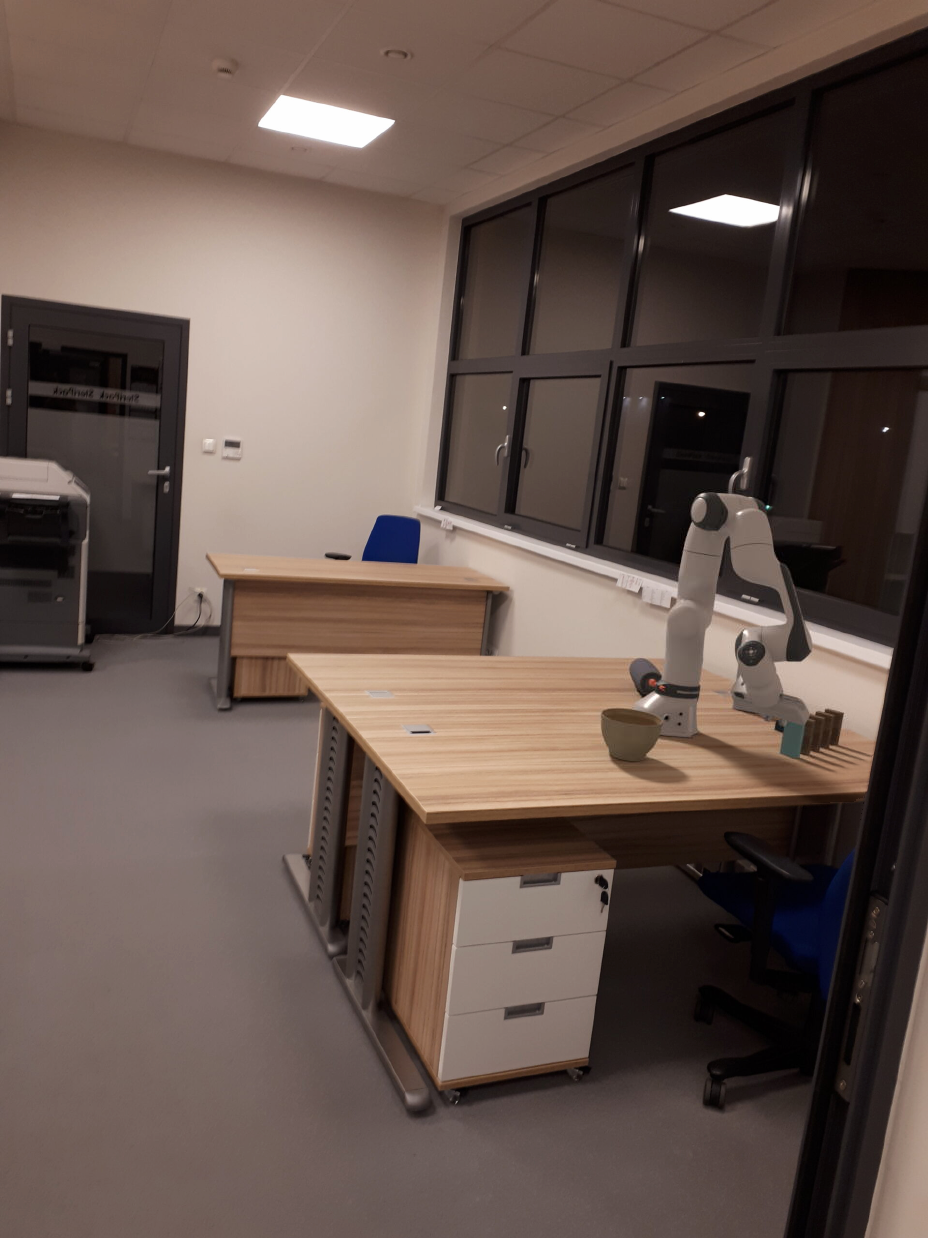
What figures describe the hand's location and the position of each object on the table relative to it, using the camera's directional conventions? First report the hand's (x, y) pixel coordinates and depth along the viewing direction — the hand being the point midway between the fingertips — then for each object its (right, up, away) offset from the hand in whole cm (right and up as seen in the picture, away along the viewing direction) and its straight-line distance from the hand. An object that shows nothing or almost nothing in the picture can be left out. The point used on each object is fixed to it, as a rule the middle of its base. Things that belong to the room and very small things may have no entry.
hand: (776, 721), depth 256 cm
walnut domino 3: (+21, -10, +25) cm, 34 cm away
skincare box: (+10, -3, +61) cm, 62 cm away
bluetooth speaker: (-22, +3, +71) cm, 74 cm away
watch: (+15, -7, +37) cm, 41 cm away
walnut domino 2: (+16, -10, +20) cm, 28 cm away
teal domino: (+7, -11, +11) cm, 17 cm away
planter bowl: (-42, -8, -7) cm, 43 cm away
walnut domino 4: (+26, -10, +29) cm, 40 cm away
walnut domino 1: (+12, -10, +15) cm, 22 cm away
